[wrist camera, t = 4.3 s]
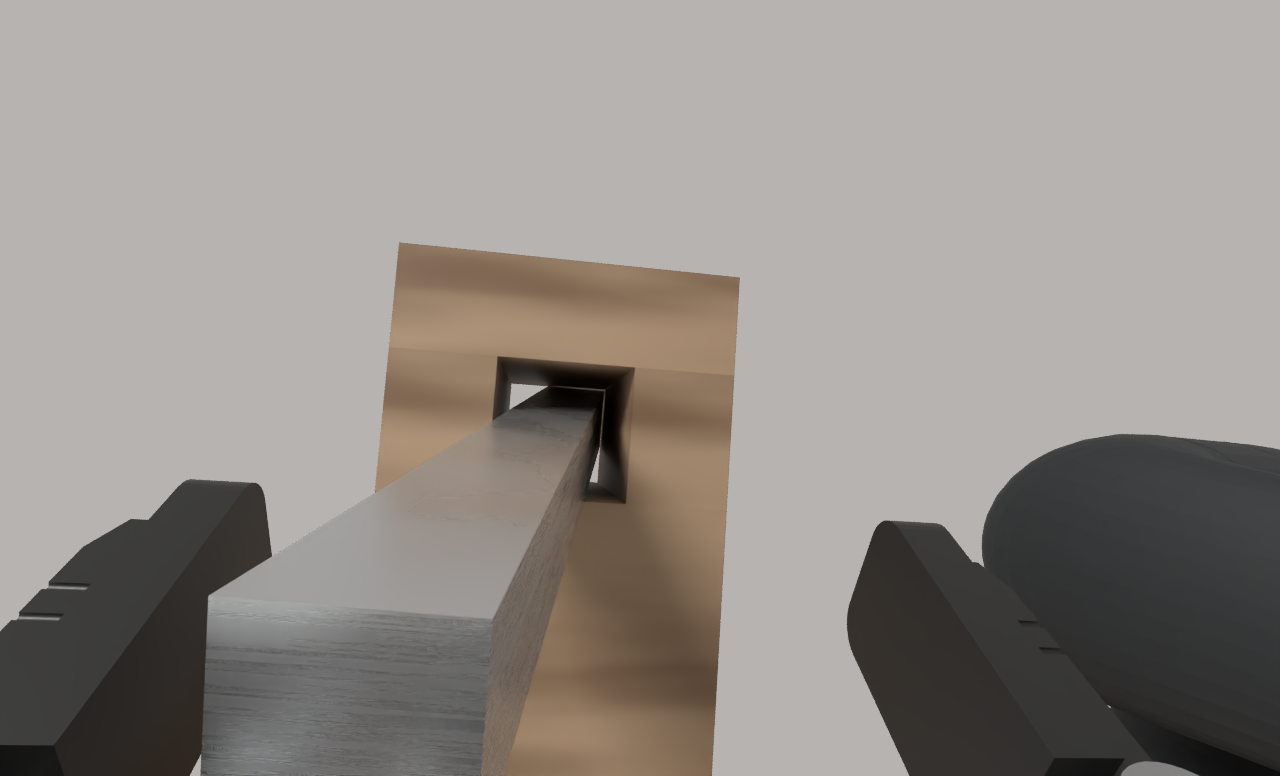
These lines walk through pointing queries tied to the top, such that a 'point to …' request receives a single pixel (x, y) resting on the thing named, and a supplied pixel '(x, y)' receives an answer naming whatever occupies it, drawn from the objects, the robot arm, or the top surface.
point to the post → (615, 506)
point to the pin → (406, 612)
